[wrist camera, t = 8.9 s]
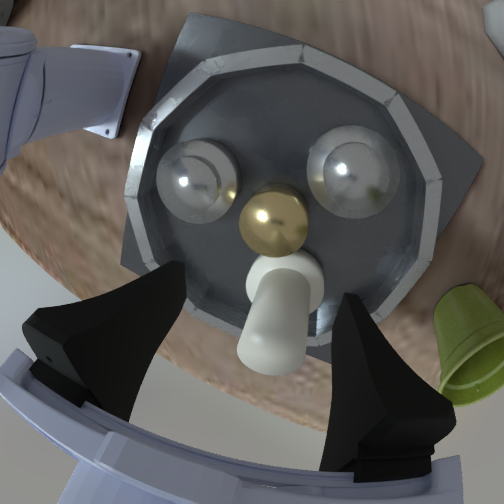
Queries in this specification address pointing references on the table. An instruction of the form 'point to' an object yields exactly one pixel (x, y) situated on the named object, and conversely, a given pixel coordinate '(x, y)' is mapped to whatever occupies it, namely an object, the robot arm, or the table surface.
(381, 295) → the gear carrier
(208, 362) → the table surface
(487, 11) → the flask
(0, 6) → the coffee mug
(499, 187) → the table surface
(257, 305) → the white mushroom peg
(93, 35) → the table surface
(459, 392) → the plant pot
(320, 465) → the robot arm
